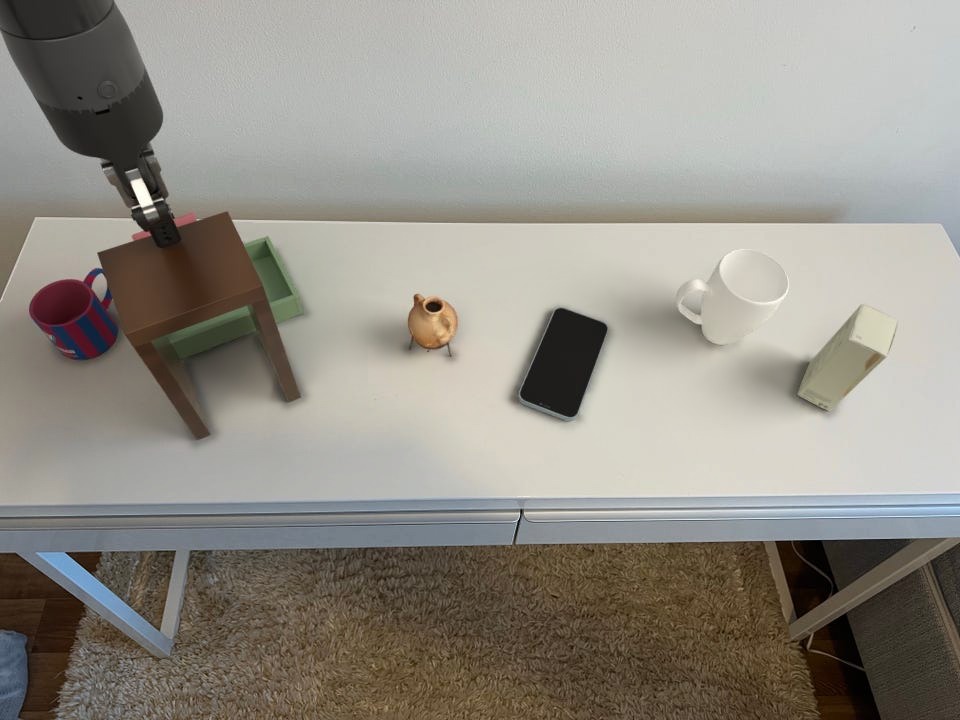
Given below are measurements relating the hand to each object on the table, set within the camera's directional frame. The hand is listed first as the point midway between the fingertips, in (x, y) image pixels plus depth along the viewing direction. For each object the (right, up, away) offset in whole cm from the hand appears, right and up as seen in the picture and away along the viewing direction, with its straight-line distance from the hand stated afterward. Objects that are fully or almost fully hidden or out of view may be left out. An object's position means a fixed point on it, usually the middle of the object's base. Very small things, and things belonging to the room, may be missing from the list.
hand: (168, 240), depth 61 cm
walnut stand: (0, -14, +17) cm, 22 cm away
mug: (+57, -7, +26) cm, 63 cm away
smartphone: (+39, -11, +21) cm, 46 cm away
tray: (-3, -4, +23) cm, 23 cm away
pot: (+22, -9, +22) cm, 33 cm away
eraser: (-2, +1, +4) cm, 4 cm away
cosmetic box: (+70, -14, +22) cm, 75 cm away
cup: (-18, -7, +20) cm, 28 cm away
